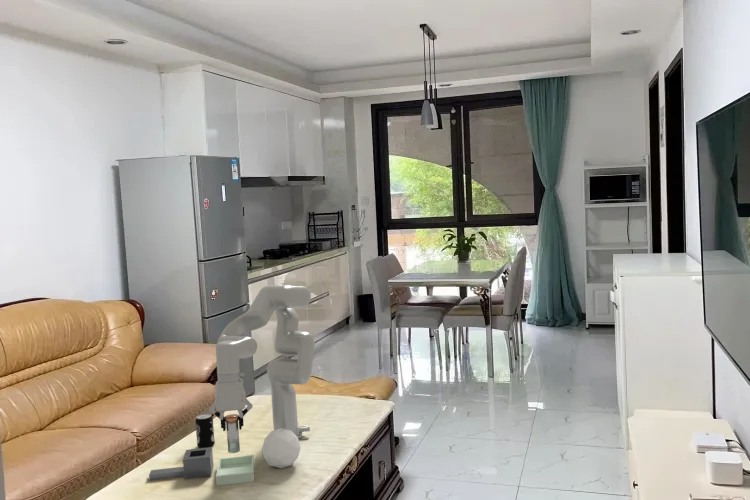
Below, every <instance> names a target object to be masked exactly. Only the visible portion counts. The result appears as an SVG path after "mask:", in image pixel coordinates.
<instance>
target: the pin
mask: <svg viewBox="0 0 750 500" xmlns="http://www.w3.org/2000/svg"><path fill="white" fill-rule="evenodd" d="M224 417H225V422H226V439H227V440H226V441H227V453H229V454H235V453H239V452H240V451H241V447H240V446H241V445H240V444H241V443H240V431H239V430H240V429H239V414H237V413H236V414H235V413H232V414H230V413H229V414H227V415H224Z"/></svg>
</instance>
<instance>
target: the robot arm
mask: <svg viewBox="0 0 750 500" xmlns="http://www.w3.org/2000/svg"><path fill="white" fill-rule="evenodd" d="M311 295H312V294H311V291H310V289H308V287H307V286H304V285H299V286H298V285H270V284H269V285H265V286H263V287H262V288H261V289H260V290H259V291H258V293H257V295H256V296H255V298H254V300H253V301H252V303H251V304H250V306H249V308H248V310H247V311H246V312H244V313H243V314H241V315H239V316H238V317H236V318H235V319H233V320H232V321H230V322H229V323H228V324H227V325H226V326H225V327H224V329H222V330H223V331H222V332H221V333H220V335H219V337H218V339H217V342H216V345H215V357H216V374H217V375H216V376H217V381H216V382H215V386H214V387H215V388H214V389H215V390H214V391H215V392H214V394H215V395H214V396H215V398H214V399H215V401H214V402H213V404H212V405H211V407H210V408H209V413H210V414H213V415H214V416H215V417H216V418H218V419H219V421H220V428H221V429H222V431H223V432H226V431H227V428H226V422H225V412H231V411H237V413H238V415H239V420H238V428H239V430H242V427H244V417H245V416H246V415H247V413H248V412H249V411H251V410H252V409H253V404H252V403H251V402H250V401H249V400H248V398H247V396H246V388H245V384H244V379H243V377H245V372H242V371H241V370H240V361H241V360H242V359H243V360H244V359H248V358H251V357H253V356H254V355H255V354H256V352H257V350H258V343H257V341H256V339H255V338H254V337H251V336H246V335H245V336H243V335H244V334H246V333H249V332H252V331H256V330H259V329H261V328H263V327H265V326H266V325H267V324H268V322H269V320H270V319H271V317H272V315H273V314H274V312H275V313H276V319H277V320H276V321H277V322H276V331H275V338H274V351H275V352H276V353H277V354H278V355H283V356H296V357H297V358H284V357H283V358H282V357H278V358H273V359H272V360H271V361H270V362H269V363H268V364H267V367H266V374H267V379H268V382H269V387H270V393H271V394H270V396H271V409H272V423H273V424H272V425H273V431H274V430H277V429H280V428H283V429H284V426H285V429H287V430H291V431H292V432H293V433H294V434H295V435H296V436H297V437H298V439H299V440H300V439H301V438H302V437H303V433H304V432H305V433H307V432H310V431H311V430H310V429H311V428H310V426H309V425H308V426H307V425H305V424H304V425H300V424H299V422H298V406H297V394H296V393H297V392H296V390H295V387H294V385H305V384H308V383H309V381H310V379H311V376H312V373H313V371H312V370H313V365H314V364H313V362H314V354H315V339H314V337H313V335H312V334H311V333H310V332H308V331H299V322H300V320H299V316H298V314H297V312H296V310H295V309H303V308H306V307H308V306H309V304H310V302H311V298H312V296H311Z"/></svg>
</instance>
